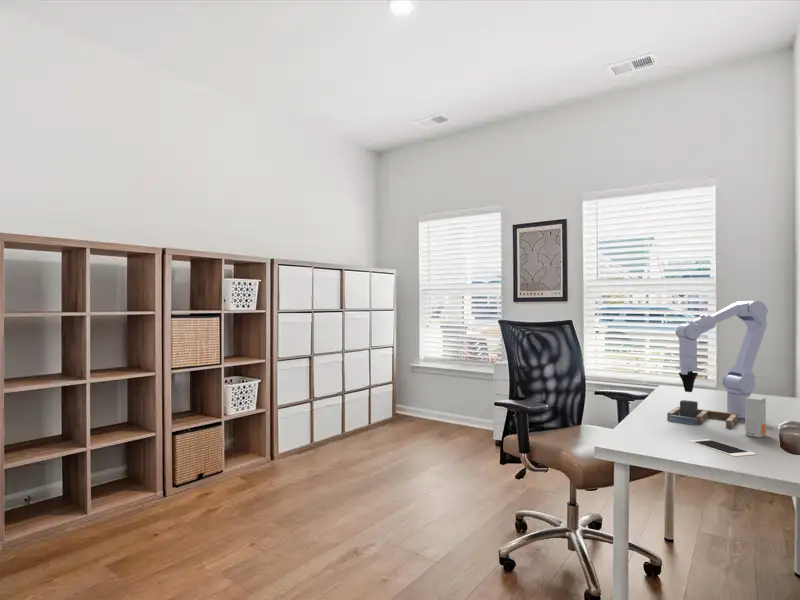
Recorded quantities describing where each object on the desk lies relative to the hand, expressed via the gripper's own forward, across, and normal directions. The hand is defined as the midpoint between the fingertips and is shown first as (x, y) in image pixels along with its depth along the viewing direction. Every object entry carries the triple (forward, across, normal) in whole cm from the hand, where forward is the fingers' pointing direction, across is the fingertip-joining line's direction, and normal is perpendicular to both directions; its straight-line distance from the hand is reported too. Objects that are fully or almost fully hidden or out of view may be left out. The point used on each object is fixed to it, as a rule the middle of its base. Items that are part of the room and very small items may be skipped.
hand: (688, 391), depth 184 cm
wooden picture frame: (+9, +4, +5) cm, 11 cm away
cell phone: (+10, +40, +16) cm, 44 cm away
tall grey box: (+9, +4, +1) cm, 10 cm away
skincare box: (+10, +16, +22) cm, 29 cm away
